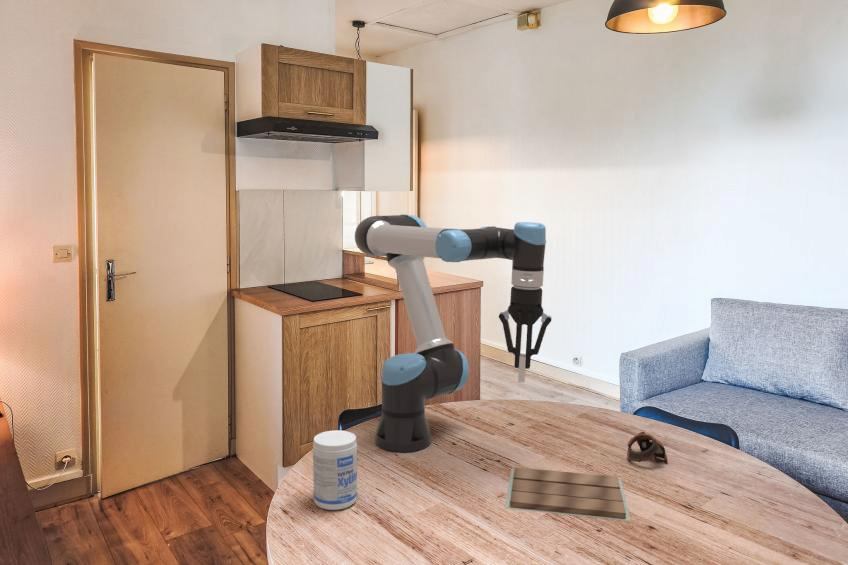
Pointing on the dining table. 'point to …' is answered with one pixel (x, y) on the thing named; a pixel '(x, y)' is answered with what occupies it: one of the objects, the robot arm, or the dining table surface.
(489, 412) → the dining table surface
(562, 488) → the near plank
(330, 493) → the supplement tub
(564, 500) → the laid strip
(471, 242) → the robot arm
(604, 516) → the underlay mat
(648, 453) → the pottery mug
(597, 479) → the far plank
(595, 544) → the dining table surface
